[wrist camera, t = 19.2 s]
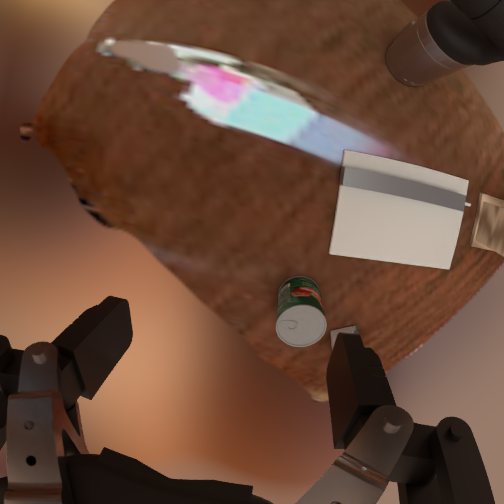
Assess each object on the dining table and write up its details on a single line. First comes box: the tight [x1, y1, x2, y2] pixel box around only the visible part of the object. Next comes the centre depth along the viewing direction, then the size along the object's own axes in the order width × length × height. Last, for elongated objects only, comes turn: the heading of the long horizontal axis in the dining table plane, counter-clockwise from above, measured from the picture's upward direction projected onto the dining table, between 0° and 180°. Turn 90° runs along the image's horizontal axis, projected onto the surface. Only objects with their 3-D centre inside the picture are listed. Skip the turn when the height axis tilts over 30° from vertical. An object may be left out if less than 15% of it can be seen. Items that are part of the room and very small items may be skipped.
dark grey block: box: [339, 166, 471, 212], centre depth 42 cm, size 3×26×3 cm
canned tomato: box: [276, 276, 327, 347], centre depth 48 cm, size 8×8×11 cm
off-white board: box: [329, 150, 469, 269], centre depth 46 cm, size 18×26×1 cm
